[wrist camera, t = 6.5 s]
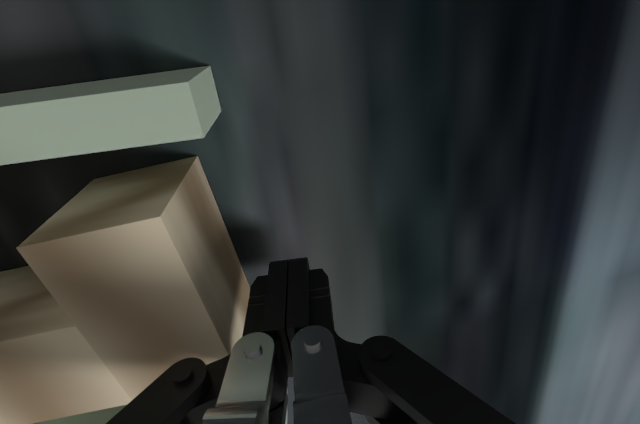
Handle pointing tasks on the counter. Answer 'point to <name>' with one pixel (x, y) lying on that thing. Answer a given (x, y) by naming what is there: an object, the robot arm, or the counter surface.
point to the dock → (106, 129)
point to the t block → (118, 294)
